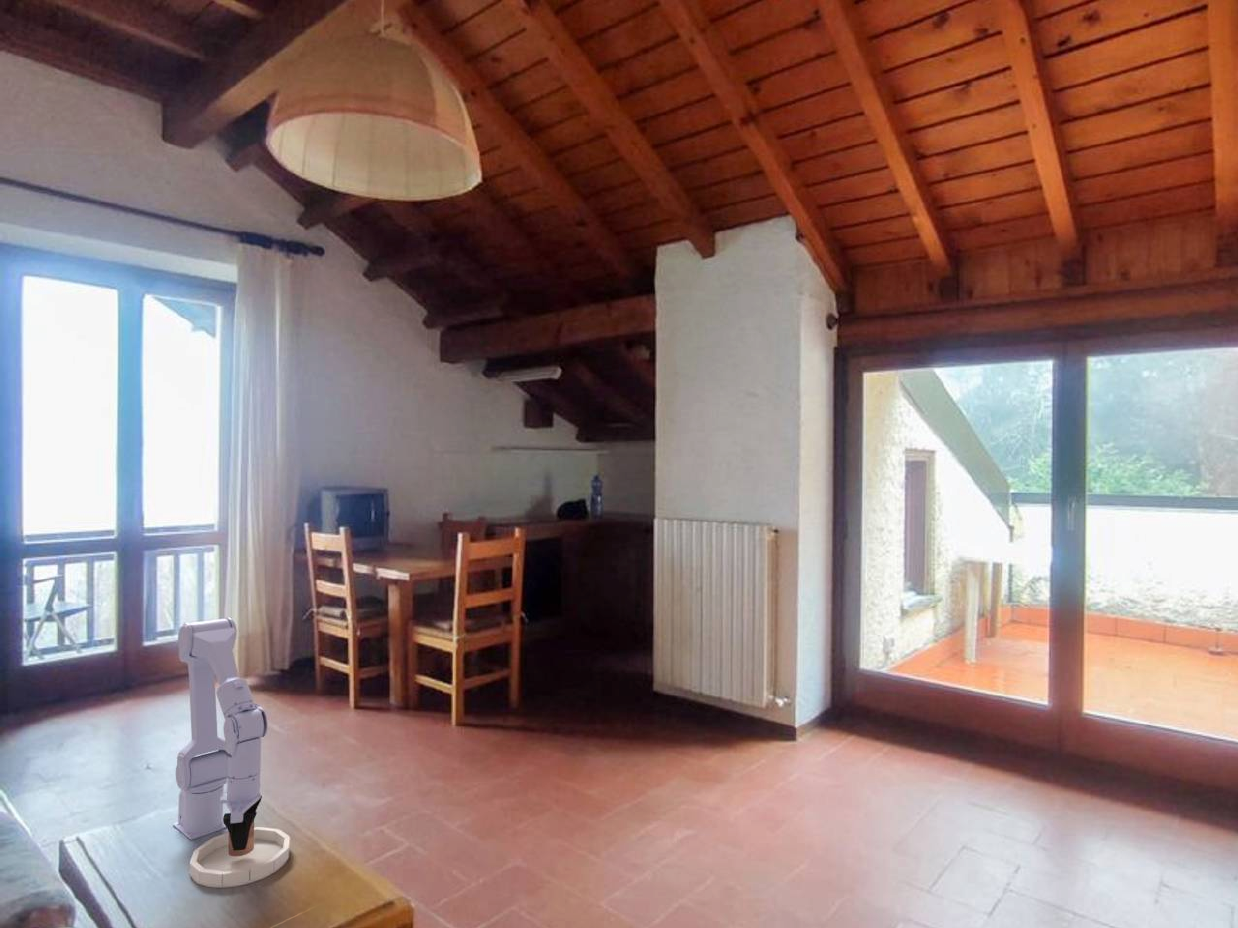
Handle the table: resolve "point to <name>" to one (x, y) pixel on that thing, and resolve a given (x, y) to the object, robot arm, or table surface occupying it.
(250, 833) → the brown rounded cylinder
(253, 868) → the round tray
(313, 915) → the table surface
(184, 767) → the robot arm
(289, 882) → the table surface
